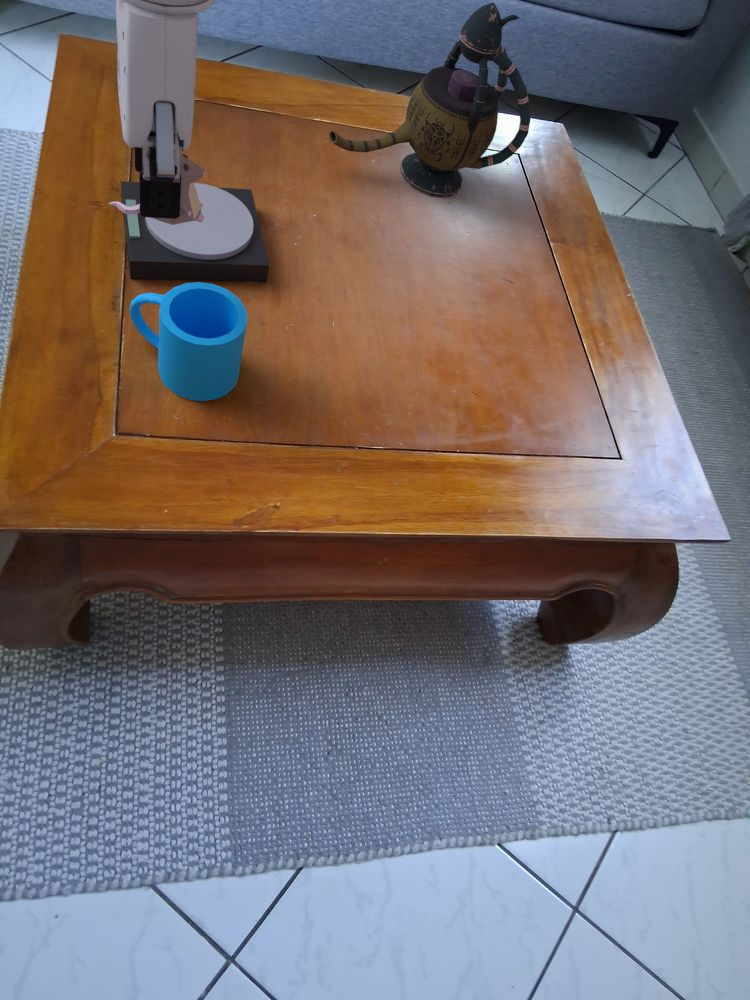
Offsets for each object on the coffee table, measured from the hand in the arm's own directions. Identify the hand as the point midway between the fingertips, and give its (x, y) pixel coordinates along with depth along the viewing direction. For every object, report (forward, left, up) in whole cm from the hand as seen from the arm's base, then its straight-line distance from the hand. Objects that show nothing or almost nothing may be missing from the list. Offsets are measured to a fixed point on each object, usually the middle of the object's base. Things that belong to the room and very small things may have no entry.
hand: (156, 191), depth 65 cm
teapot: (+37, +30, -18) cm, 50 cm away
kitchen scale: (+6, +15, -18) cm, 24 cm away
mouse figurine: (0, 0, -2) cm, 2 cm away
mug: (+2, -4, -18) cm, 18 cm away
